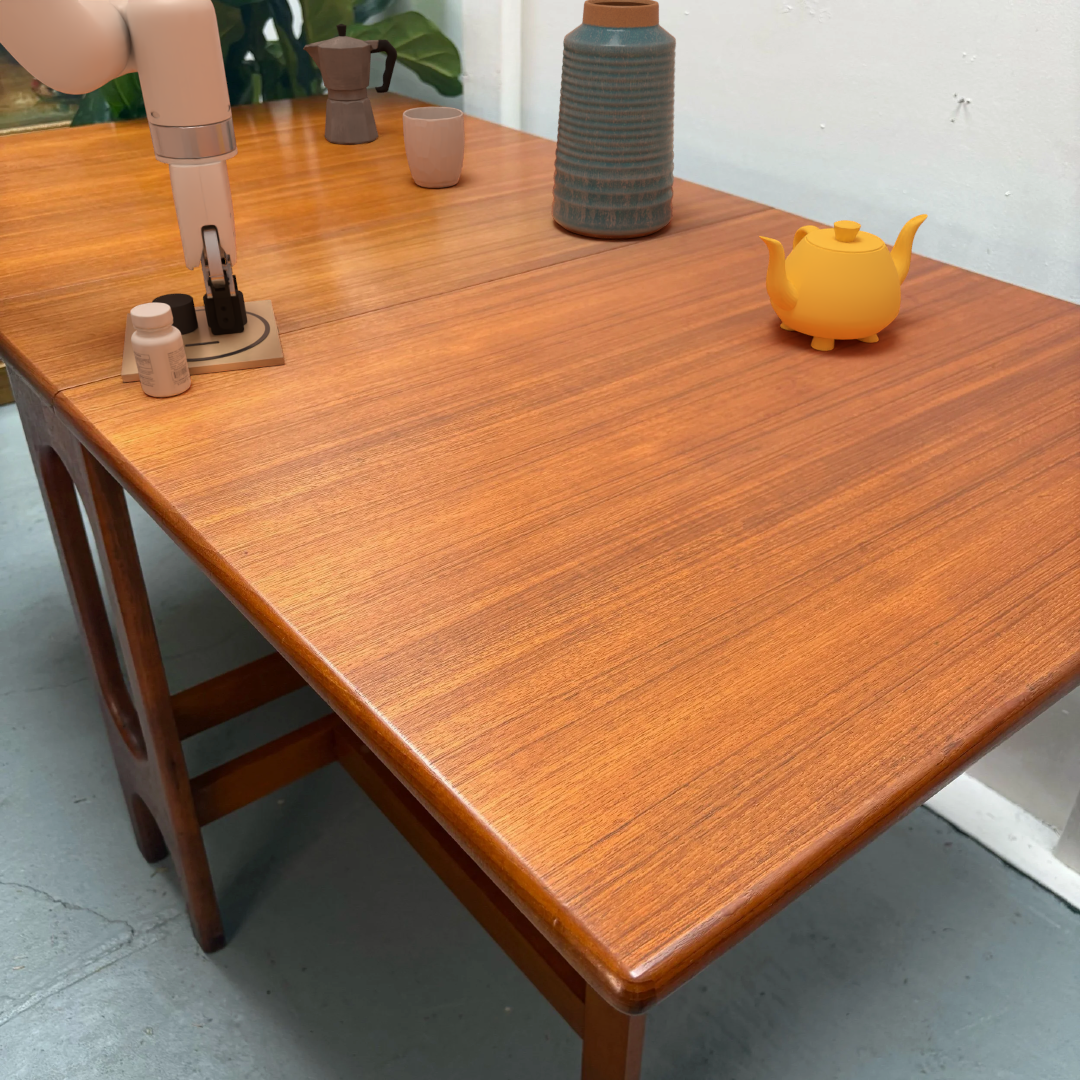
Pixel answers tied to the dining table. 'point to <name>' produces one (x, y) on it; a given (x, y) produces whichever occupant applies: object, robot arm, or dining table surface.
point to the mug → (434, 145)
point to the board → (221, 344)
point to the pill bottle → (159, 351)
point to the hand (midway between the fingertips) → (227, 321)
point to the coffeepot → (350, 84)
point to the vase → (616, 123)
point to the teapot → (839, 281)
